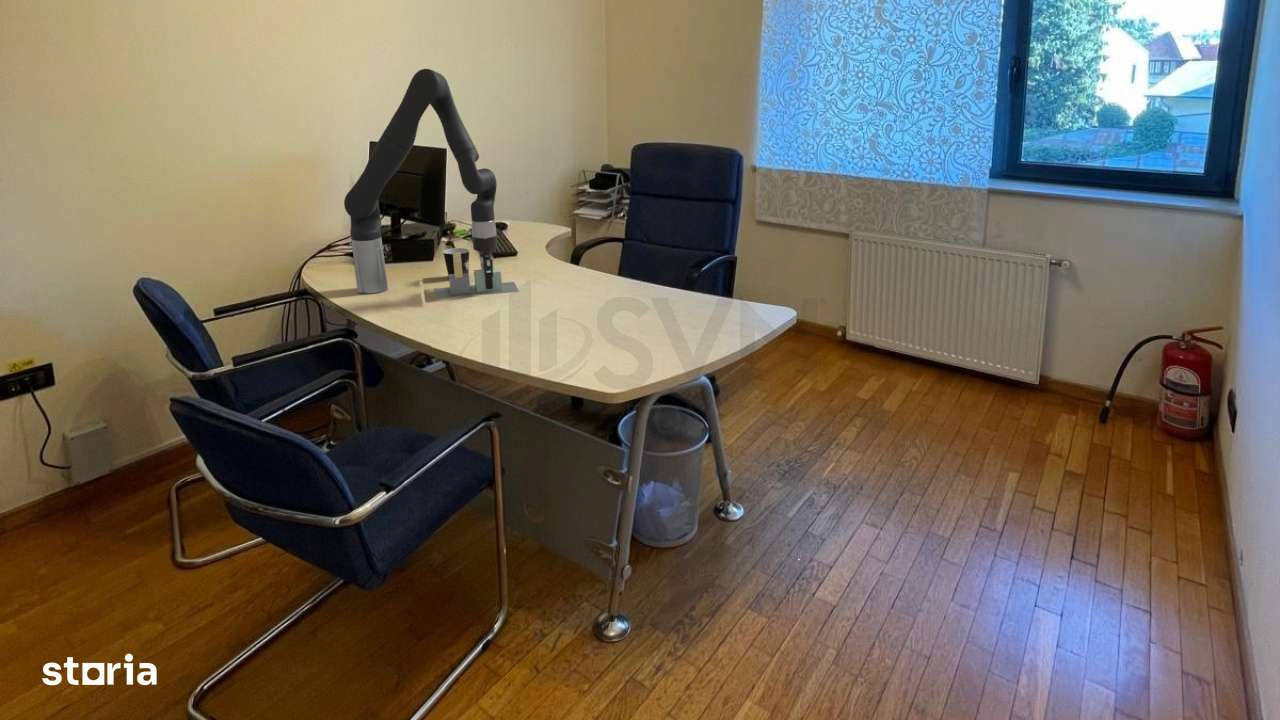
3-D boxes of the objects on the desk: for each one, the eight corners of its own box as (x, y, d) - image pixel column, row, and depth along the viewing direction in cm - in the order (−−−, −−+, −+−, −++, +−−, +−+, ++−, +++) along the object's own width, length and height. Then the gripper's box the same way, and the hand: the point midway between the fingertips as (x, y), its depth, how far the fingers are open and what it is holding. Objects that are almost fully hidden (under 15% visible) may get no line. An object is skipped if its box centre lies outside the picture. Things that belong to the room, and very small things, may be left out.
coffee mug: (457, 284, 267) (454, 255, 263) (440, 280, 272) (437, 251, 268) (483, 277, 276) (481, 248, 272) (466, 273, 281) (464, 245, 277)
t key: (454, 270, 260) (452, 252, 258) (462, 269, 261) (460, 251, 258) (455, 281, 247) (453, 262, 245) (463, 281, 248) (461, 261, 246)
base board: (435, 301, 249) (433, 283, 247) (434, 291, 260) (432, 273, 257) (519, 294, 255) (518, 276, 253) (514, 284, 266) (513, 267, 264)
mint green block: (476, 292, 255) (475, 273, 253) (475, 288, 259) (473, 269, 257) (502, 289, 257) (500, 271, 255) (500, 285, 261) (498, 267, 259)
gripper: (470, 230, 257) (474, 281, 263) (474, 239, 244) (478, 293, 250) (493, 228, 259) (497, 279, 265) (499, 238, 246) (503, 291, 252)
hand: (488, 286), depth 258 cm, fingers closed on mint green block, 5 cm apart
